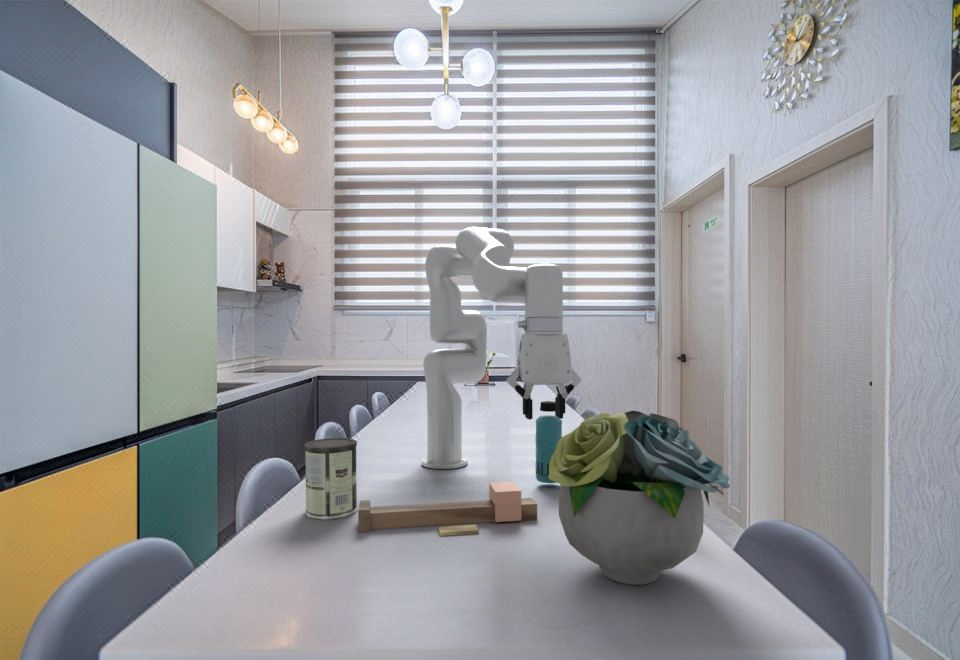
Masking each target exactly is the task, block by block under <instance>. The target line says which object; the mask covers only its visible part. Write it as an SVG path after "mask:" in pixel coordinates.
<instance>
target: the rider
mask: <svg viewBox="0 0 960 660" xmlns="http://www.w3.org/2000/svg"><path fill="white" fill-rule="evenodd" d="M488 486H489V487H488V494H489V497H488V500H492V502H493V503H494V505H495V522H494V523H501V522H504V523H505V522H518V521H519V522H520V521H522V520H521V498H522V490H521V488H519V486H518V485H517V484H516V483H515V482H514V481H499V482H489V484H488Z"/></svg>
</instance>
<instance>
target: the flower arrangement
mask: <svg viewBox="0 0 960 660" xmlns="http://www.w3.org/2000/svg"><path fill="white" fill-rule="evenodd" d="M689 434H690V431H689V430H688V429H684V428H683V427H680V425H679V422H678V421H677V420H676V419H674V418H671V417H668V416H664V415H661V414H657V413H652V412H651V413H649V414H645V413H644V412H641V411H638V410H630V411H626V412H622V413H621V412H620V413H618V414H612V413H606V412H605V413H599V414H596V415H595V414H593V413H590V414H588V415H587V416H586V418H585V419H584V420H583V421H581V423H580V425H578V426H577V427H576V428H575V429H573V430H572V431H571V432H569V433H567V434H566V435H564V436H563V435H562V438H561V439H559V441H558V443H557V447H556V450H555V452H554V454H553V455H552V457H551V460H550V463H549V476H548V478H549V479H550V480H552V481H554V482H557V484H559V490H558V495H557V498H558V499H557V501H558V502H557V503H558V518H559V520H560V524H561V526H562V529H563V532H564V535H565V537H566V539H567V542H568V543H569V545H570V546H571V547H573V549H575V550H576V552H578V554H579V555H581V556H582V557H584V558H586V559H587V560H589V561H590V562H592V563H593V564H596V565H598V568H599V570H600V572H601V573H602V575H603V576H605V577H606V578H607V579H609V580H611V581H613V582H616V583H620V584H625V585H630V586H635V585H636V586H638V585H639V586H640V585H641V586H644V585H647V584H652V583H653V582H655V581H656V580H658V579H659V578H660V575H661V572H663V571H667V570H671V569H673V568H675V567H677V566H678V565H680V564H681V563H682V562H683V561H685V560H687V559H688V558H689V557H690V556H692V555H694V554H695V553H696V552H697V550H698V547H699V546H700V543H701V540H702V537H703V534H704V512H705V511H704V510H705V509H704V507H705V506H704V500H703V494H702V491H703V493H704V497H705V499H706V501H707V505H708V506H710V500H709V493H713V494H714V493H717V492H718V490H719V489H718V486H717V485H719V486H720V488H722V489H729V488H731V485H730V484H729V483H728V482H729V481H730V479H731V477H729V476H728V475H726V474H725V473H723V472H722V471H723V466H722V465H721V464H719V463H717V462H716V461H714V460H712V459H710V458H709V457H708V456H707V454H706V452H705V451H703V449H701V447H699V445H697V443H696V442H695V441H694V440H693V439H691V437H689V436H690V435H689ZM707 484H717V485H712V486H708V485H707Z"/></svg>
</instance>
